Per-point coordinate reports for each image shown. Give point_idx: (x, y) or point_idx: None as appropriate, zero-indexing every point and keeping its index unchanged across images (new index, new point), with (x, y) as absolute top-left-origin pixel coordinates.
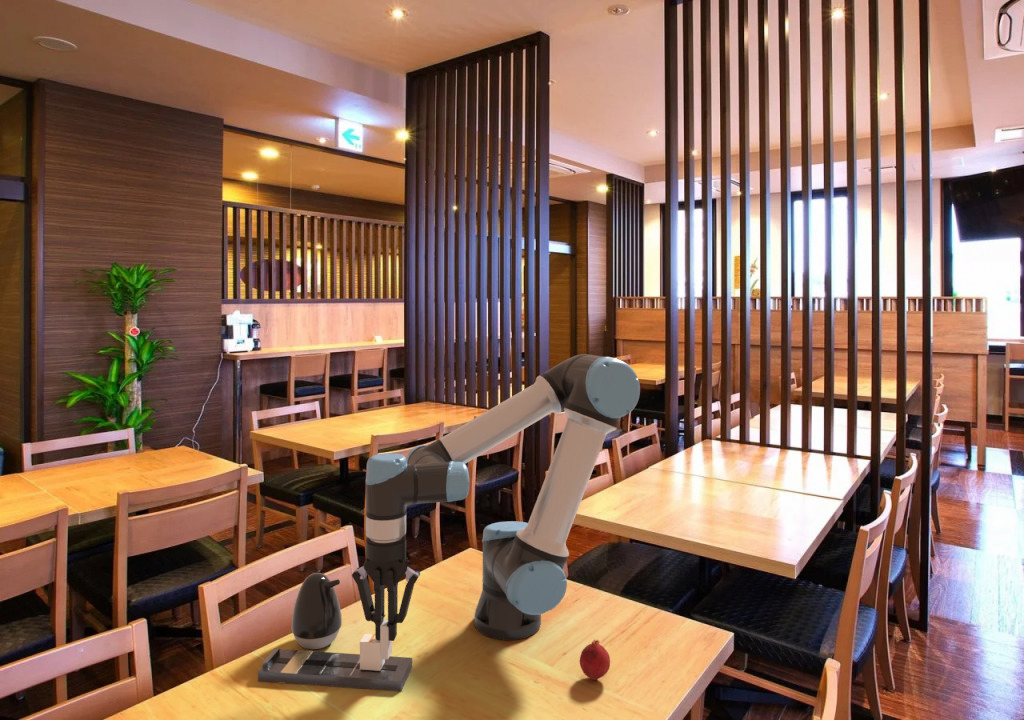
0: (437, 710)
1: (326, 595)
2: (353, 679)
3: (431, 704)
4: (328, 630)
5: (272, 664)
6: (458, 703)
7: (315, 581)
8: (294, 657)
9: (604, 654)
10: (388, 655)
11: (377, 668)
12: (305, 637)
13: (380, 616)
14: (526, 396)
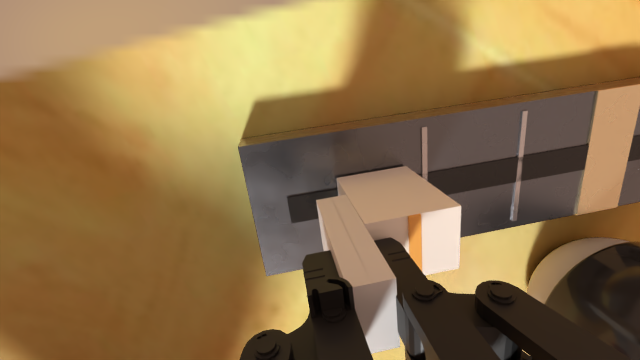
0: (60, 69)
1: None
2: (407, 119)
3: (102, 97)
4: (577, 288)
5: None
6: (10, 128)
7: None
8: (620, 168)
9: None
10: (318, 212)
11: (347, 178)
12: (629, 244)
13: (424, 330)
14: None
